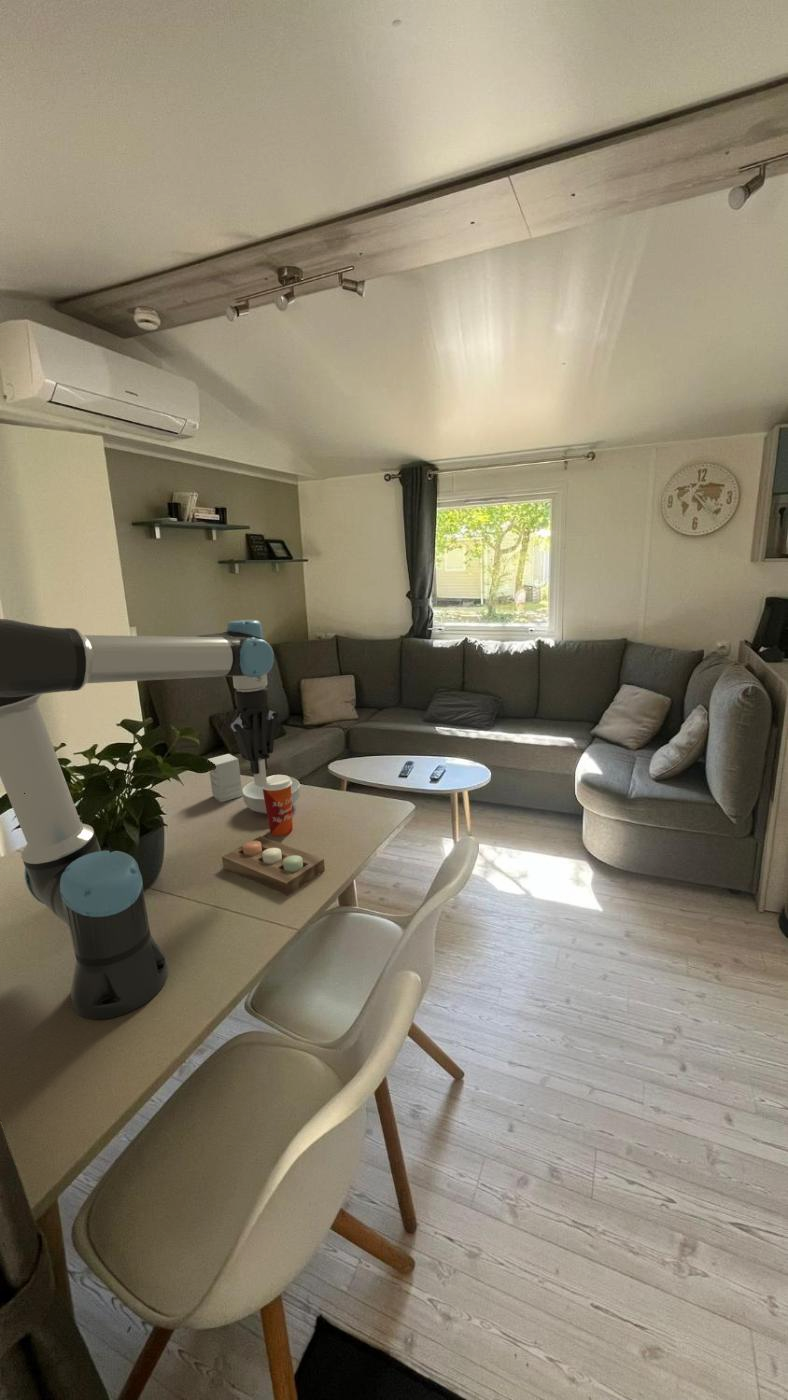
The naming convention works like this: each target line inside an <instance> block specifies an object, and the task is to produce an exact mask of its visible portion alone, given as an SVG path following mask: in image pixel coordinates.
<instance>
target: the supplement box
mask: <svg viewBox="0 0 788 1400" xmlns="http://www.w3.org/2000/svg"><path fill="white" fill-rule="evenodd" d="M208 760H209V761H210V762H212V763H213V764H215V766H216V769H215V770H213V771H210V772H209V771H208V772H209V777H210V778H209V779H210V786H211V793H212V797H214V798H215V799H216V800H217V801H219V802H220V803H225V802H226V801H230V800H232V799H233V800H234V799H236V798H239V797H240V798H241V797H243V795H242V790H243V786H242V779H241V770H240V763H239V758H237V757H236V756H234V755H232V754H231V753H226V754H222V755H218V756H215V757H210V758H207V761H208Z"/></svg>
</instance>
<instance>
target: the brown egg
mask: <svg viewBox="0 0 788 1400" xmlns="http://www.w3.org/2000/svg"><path fill="white" fill-rule="evenodd" d="M242 846H243V854H244V855H246V856H249V857H253V856H255V855H257V854H258V853H260V852H262V847H261V842H259V841H252V840H250V841H247V842H245V843H243V844H242Z"/></svg>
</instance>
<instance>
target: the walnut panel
mask: <svg viewBox="0 0 788 1400" xmlns="http://www.w3.org/2000/svg"><path fill="white" fill-rule="evenodd" d="M251 841H259V842H261V847H262V852H260V853H258V854H257V855H255V856H253V857H249V856H246V855H244V854H243V845H241V846H238V848H236V849H234V850H232V851H230V852H228V853H226V854H224V855H223V856H221V860H222V865H223V869H225V870H228V871H230V872H231V873H234V874H236V875H239V876H241V877H244V878H246V879H248V880H250V881H253V882H255V883H258V884H260V885H262V886H264V887H267V888H270V889H271V890H273V891H276V892H278V893H281V894H283V895H285V896H289V895H291V894H292V893H294V892H295V891H297V890H298V889H299V888H301V887H302V886H304V885H305V883H306V884H307V883H308V882H310V881H312V880H313V879H314V878H316V877H317V876H319V875H320V874H321V872H322V871H323V872H324V870H326V867H325V859H324V858H323V857H319V856H316V855H314V854H311V853H309V852H306V851H303V850H300V849H299V848H298V849H297V848H294V847H292V846H289V845H286V844H283V843H280V842H278V841H276V840H275V841H274V840H272V839H269V838H266V837H263V836H258V837H256V838H254V839H252V840H251ZM269 848H279V849H280V850H281V854H282V860H280V861H278V862H277V863H275V864H273V865H269V864H267V863H264V862H263V856H262V853H263V851H265V850H267V849H269ZM293 855H297V856H301V857H302V860H303V868H302V869H300V870H299V871H297V872H295V873H294V874H292V873H290V872H287V871H285V870H284V866H283V860H284V859H285V858H287V857H289V856H293ZM323 872H322V873H323ZM319 873H320V874H319ZM318 874H319V875H318ZM315 876H316V877H315Z"/></svg>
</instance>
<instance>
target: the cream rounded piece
mask: <svg viewBox="0 0 788 1400" xmlns="http://www.w3.org/2000/svg"><path fill="white" fill-rule="evenodd" d="M262 856H263V862H264V863H267V864H269V865H273V864H275V863H277V862H278V861H280V860H282V854H281V850H280V849H279V848H269V849H267V850H265V851H263V853H262Z"/></svg>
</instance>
